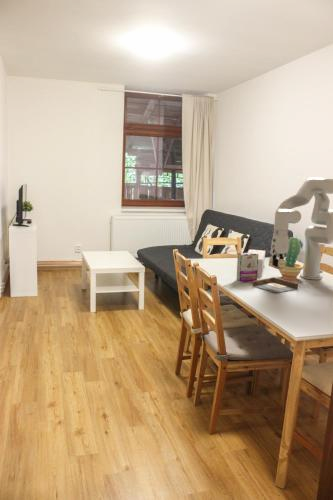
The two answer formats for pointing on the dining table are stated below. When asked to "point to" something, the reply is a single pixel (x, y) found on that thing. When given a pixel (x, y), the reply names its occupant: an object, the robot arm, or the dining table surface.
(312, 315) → the dining table surface
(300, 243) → the potted cactus
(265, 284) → the corner arena
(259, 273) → the stack of papers
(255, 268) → the candy bar box
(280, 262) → the maple block
